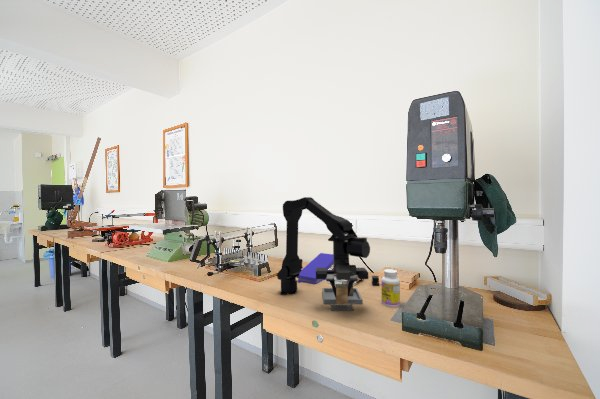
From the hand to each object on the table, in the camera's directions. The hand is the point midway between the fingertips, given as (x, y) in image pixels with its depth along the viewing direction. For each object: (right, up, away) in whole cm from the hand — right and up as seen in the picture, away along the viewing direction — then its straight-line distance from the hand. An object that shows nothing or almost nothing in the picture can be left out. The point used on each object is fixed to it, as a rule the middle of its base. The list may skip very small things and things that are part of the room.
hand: (341, 296), depth 100 cm
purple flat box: (-5, -5, +42) cm, 43 cm away
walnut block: (+5, -4, +14) cm, 15 cm away
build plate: (+20, -5, +26) cm, 33 cm away
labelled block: (0, -2, 0) cm, 2 cm away
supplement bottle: (+19, -5, +4) cm, 20 cm away
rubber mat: (0, -5, 0) cm, 5 cm away
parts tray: (+1, -4, +10) cm, 11 cm away
